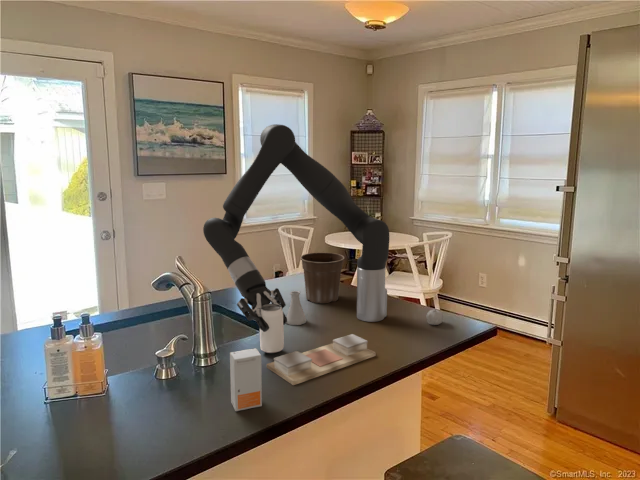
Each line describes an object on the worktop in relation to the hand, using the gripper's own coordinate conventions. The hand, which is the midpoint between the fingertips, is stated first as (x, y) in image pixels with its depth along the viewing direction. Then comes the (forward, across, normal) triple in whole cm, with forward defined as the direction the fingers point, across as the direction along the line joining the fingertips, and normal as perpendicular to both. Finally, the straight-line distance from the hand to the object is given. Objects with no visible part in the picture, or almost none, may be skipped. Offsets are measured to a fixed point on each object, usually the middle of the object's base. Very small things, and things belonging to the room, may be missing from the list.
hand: (275, 326), depth 129 cm
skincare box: (+16, -22, -5) cm, 28 cm away
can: (+4, 0, +6) cm, 7 cm away
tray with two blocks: (+14, +5, -3) cm, 16 cm away
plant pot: (-11, +45, +23) cm, 52 cm away
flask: (-4, +21, +16) cm, 27 cm away
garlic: (+20, +50, -8) cm, 54 cm away
